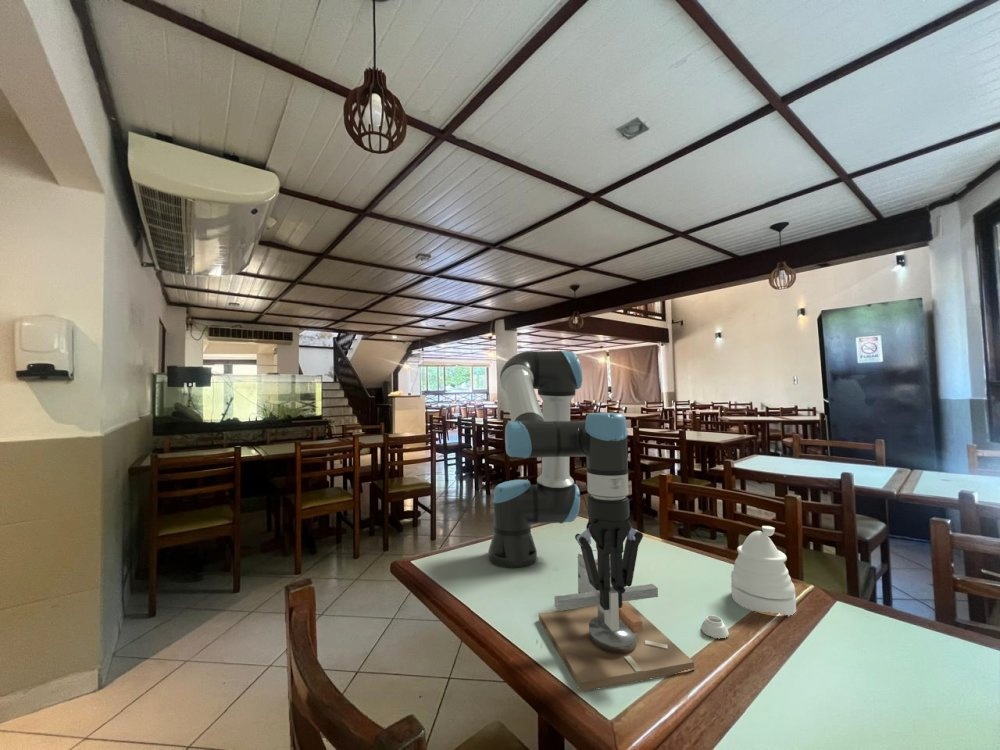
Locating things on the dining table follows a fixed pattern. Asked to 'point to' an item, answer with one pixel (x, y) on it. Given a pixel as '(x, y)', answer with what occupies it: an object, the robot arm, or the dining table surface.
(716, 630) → the white round hollow piece
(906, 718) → the dining table surface
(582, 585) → the ink box
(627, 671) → the board
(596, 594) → the capstan
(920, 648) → the dining table surface
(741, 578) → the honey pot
